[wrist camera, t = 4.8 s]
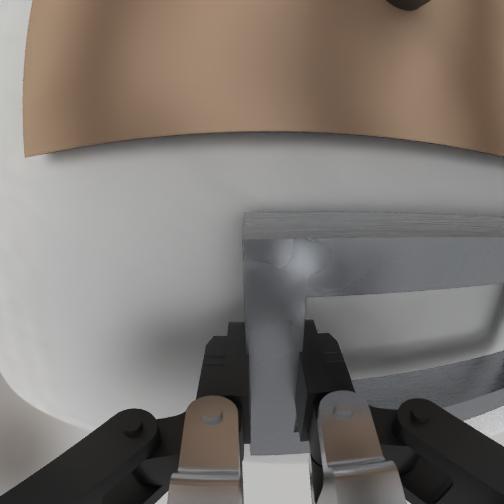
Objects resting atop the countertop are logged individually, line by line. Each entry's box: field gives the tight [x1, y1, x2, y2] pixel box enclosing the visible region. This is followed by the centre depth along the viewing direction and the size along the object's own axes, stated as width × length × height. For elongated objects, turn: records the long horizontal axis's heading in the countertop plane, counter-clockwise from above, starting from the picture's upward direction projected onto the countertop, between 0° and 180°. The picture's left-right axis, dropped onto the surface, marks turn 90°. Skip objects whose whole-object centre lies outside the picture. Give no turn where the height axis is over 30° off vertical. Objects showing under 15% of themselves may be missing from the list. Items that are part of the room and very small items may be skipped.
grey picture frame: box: [242, 212, 504, 455], centre depth 10 cm, size 16×9×3 cm, turn 91°
